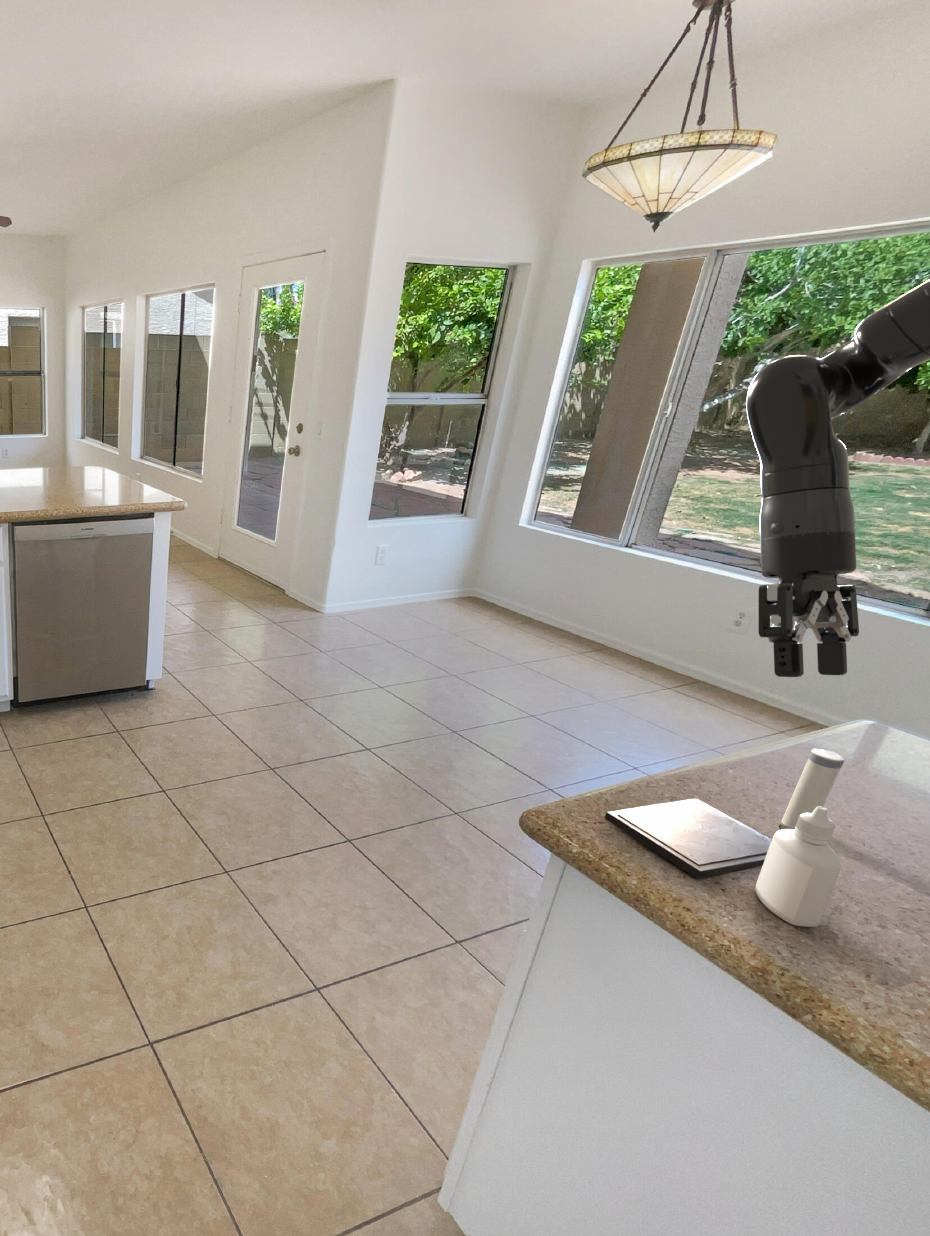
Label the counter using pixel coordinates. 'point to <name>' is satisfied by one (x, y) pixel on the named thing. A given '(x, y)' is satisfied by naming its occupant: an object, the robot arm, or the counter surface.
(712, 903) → the counter surface
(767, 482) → the robot arm
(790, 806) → the stylus
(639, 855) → the counter surface
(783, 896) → the eye dropper bottle
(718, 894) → the counter surface
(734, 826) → the tablet
